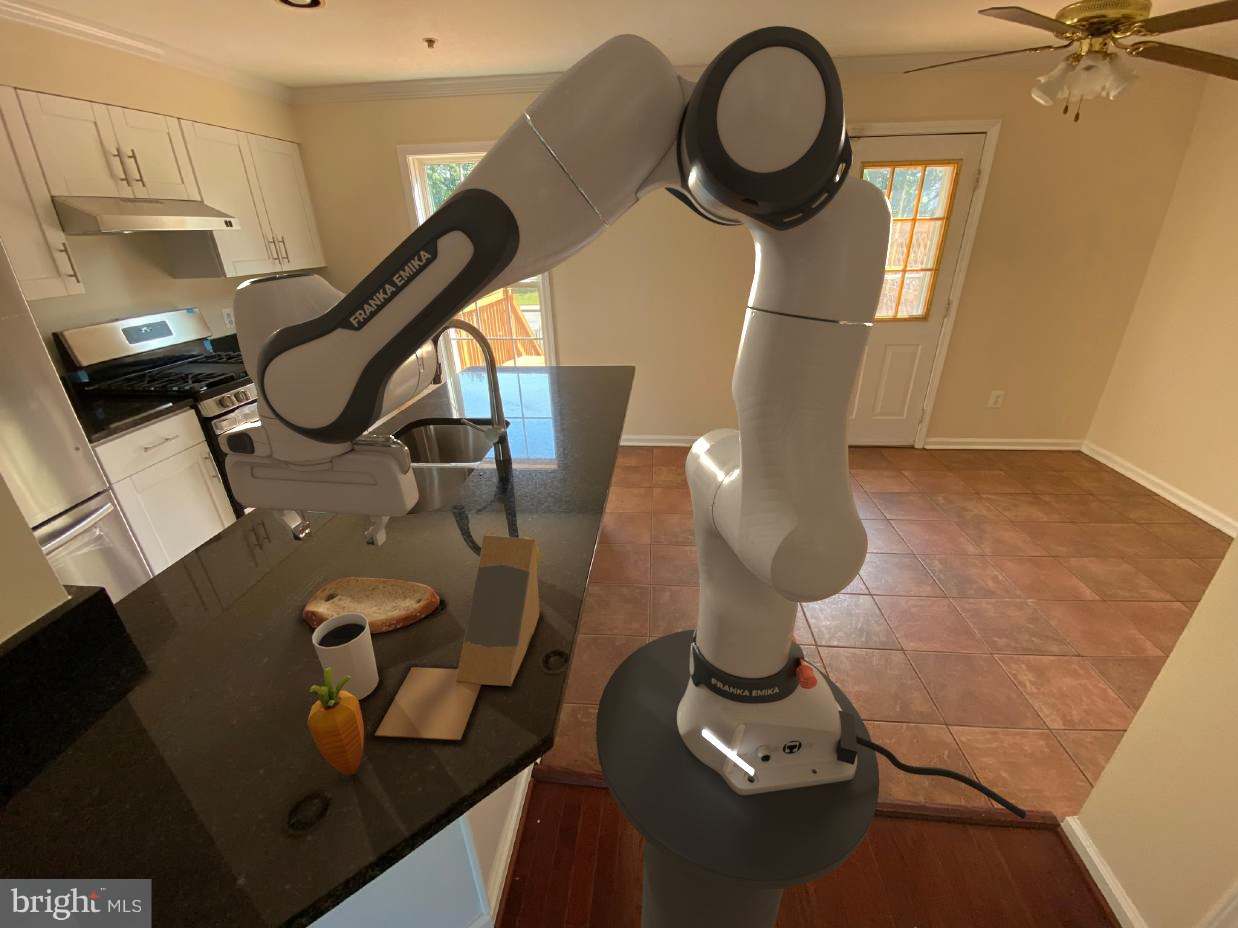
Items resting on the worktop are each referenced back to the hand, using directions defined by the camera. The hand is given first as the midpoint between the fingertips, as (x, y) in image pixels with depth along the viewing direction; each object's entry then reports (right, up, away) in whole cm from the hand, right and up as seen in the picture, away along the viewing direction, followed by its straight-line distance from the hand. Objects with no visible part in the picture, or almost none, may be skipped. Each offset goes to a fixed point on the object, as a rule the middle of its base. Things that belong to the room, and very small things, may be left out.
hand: (339, 540), depth 60 cm
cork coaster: (+9, -23, +8) cm, 26 cm away
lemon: (+16, -12, +34) cm, 40 cm away
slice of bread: (-8, -15, +25) cm, 31 cm away
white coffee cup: (-3, -22, +10) cm, 25 cm away
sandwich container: (+15, -19, +17) cm, 30 cm away
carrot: (+2, -27, -1) cm, 27 cm away
